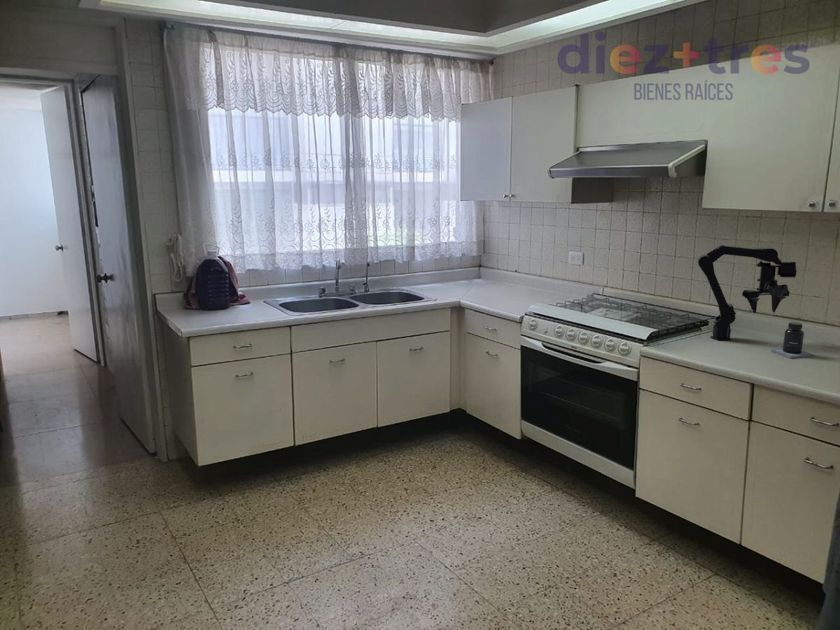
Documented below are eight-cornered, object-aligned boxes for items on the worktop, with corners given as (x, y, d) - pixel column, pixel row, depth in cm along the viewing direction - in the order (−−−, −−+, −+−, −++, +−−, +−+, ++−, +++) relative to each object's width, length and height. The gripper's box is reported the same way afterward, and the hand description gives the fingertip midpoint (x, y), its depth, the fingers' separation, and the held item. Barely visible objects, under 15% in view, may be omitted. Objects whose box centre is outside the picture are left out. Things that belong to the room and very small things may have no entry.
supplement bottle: (789, 354, 250) (792, 325, 247) (778, 350, 257) (781, 321, 254) (805, 353, 250) (809, 324, 248) (794, 349, 257) (798, 321, 254)
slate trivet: (790, 358, 247) (790, 356, 247) (770, 351, 258) (770, 349, 258) (814, 356, 249) (815, 354, 249) (794, 349, 260) (794, 347, 259)
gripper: (760, 280, 259) (757, 317, 262) (800, 278, 262) (797, 315, 265) (743, 276, 270) (739, 312, 273) (781, 275, 272) (778, 309, 276)
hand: (764, 312), depth 271 cm, fingers open, 9 cm apart
